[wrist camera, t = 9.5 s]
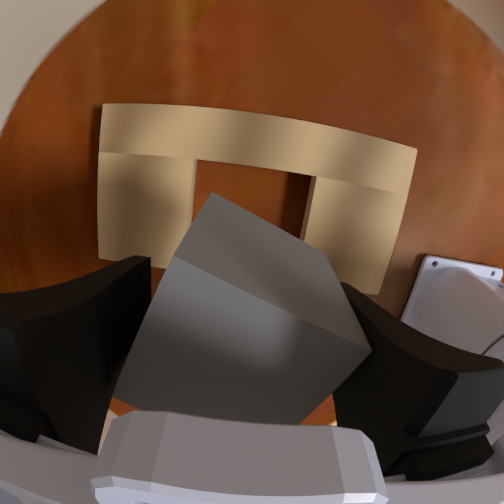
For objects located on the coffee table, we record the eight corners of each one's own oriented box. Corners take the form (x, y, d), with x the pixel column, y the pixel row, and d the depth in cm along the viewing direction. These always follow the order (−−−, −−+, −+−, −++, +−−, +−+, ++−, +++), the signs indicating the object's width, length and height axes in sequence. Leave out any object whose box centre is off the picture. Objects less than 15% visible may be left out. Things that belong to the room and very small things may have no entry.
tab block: (324, 253, 12) (371, 350, 7) (261, 341, 14) (264, 452, 9) (211, 191, 12) (173, 255, 6) (160, 294, 13) (111, 396, 8)
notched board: (406, 147, 18) (417, 149, 17) (371, 284, 22) (378, 294, 20) (113, 104, 17) (103, 103, 16) (107, 249, 21) (98, 258, 19)
